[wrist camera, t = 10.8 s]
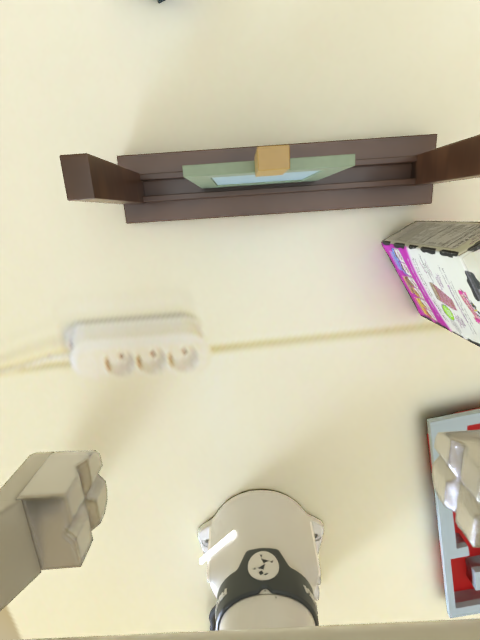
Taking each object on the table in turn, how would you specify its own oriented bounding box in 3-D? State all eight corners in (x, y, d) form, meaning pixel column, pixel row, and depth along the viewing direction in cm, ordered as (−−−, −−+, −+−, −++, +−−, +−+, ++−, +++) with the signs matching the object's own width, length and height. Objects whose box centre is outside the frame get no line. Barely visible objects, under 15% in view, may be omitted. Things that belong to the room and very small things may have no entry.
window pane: (316, 184, 40) (374, 163, 23) (202, 191, 40) (174, 176, 23) (316, 170, 40) (375, 138, 22) (201, 178, 40) (171, 152, 23)
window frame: (423, 203, 43) (536, 199, 26) (131, 223, 43) (65, 229, 27) (427, 137, 41) (554, 87, 24) (122, 158, 41) (45, 123, 25)
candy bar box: (456, 294, 46) (571, 338, 30) (419, 316, 46) (512, 369, 31) (416, 216, 43) (519, 219, 27) (378, 241, 44) (456, 257, 28)
